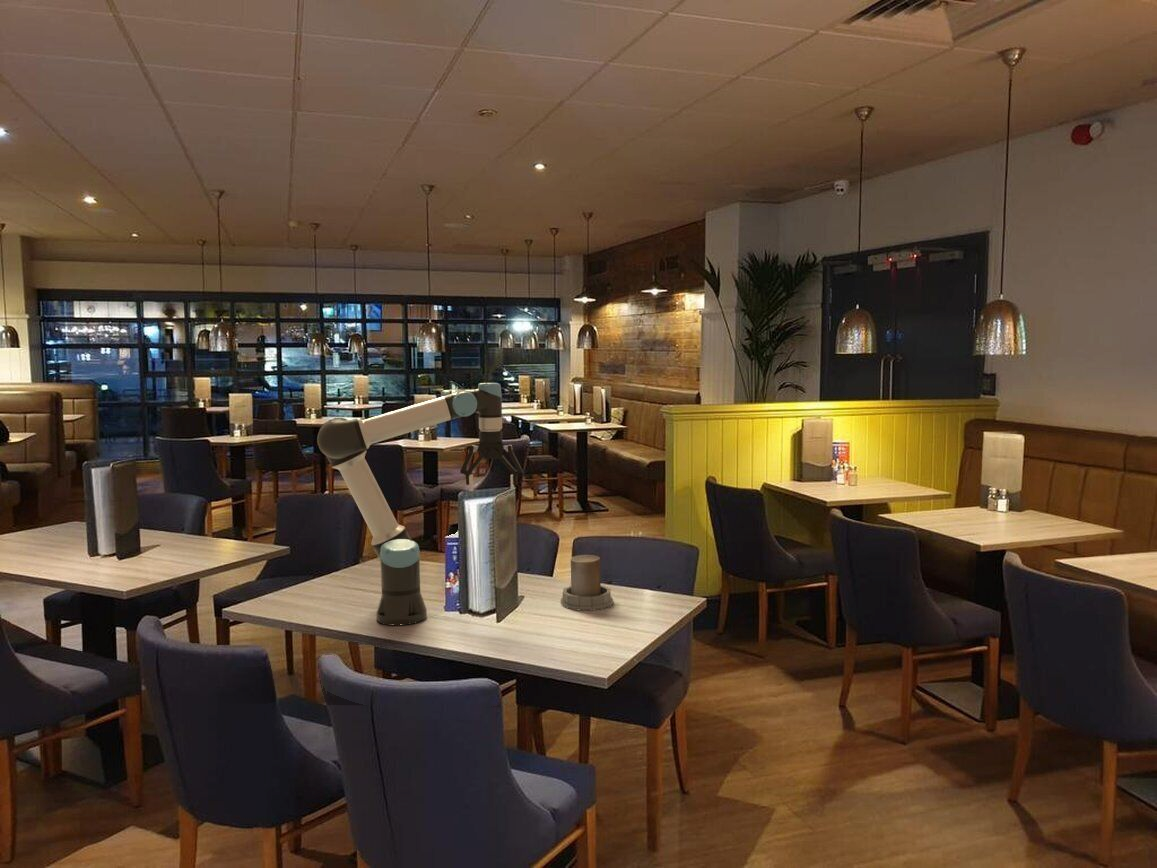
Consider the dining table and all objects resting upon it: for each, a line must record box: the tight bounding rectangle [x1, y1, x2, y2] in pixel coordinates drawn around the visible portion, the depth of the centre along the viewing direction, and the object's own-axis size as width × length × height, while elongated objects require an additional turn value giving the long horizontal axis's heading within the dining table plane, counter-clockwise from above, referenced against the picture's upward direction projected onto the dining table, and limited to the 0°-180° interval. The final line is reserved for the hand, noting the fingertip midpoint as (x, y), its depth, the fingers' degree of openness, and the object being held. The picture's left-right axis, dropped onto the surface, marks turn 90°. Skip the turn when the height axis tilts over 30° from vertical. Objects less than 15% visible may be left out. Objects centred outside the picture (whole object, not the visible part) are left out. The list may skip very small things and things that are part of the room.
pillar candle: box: [570, 554, 602, 596], centre depth 273 cm, size 10×10×15 cm
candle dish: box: [560, 585, 614, 611], centre depth 273 cm, size 17×17×4 cm
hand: (491, 494), depth 276 cm, fingers open, 13 cm apart
